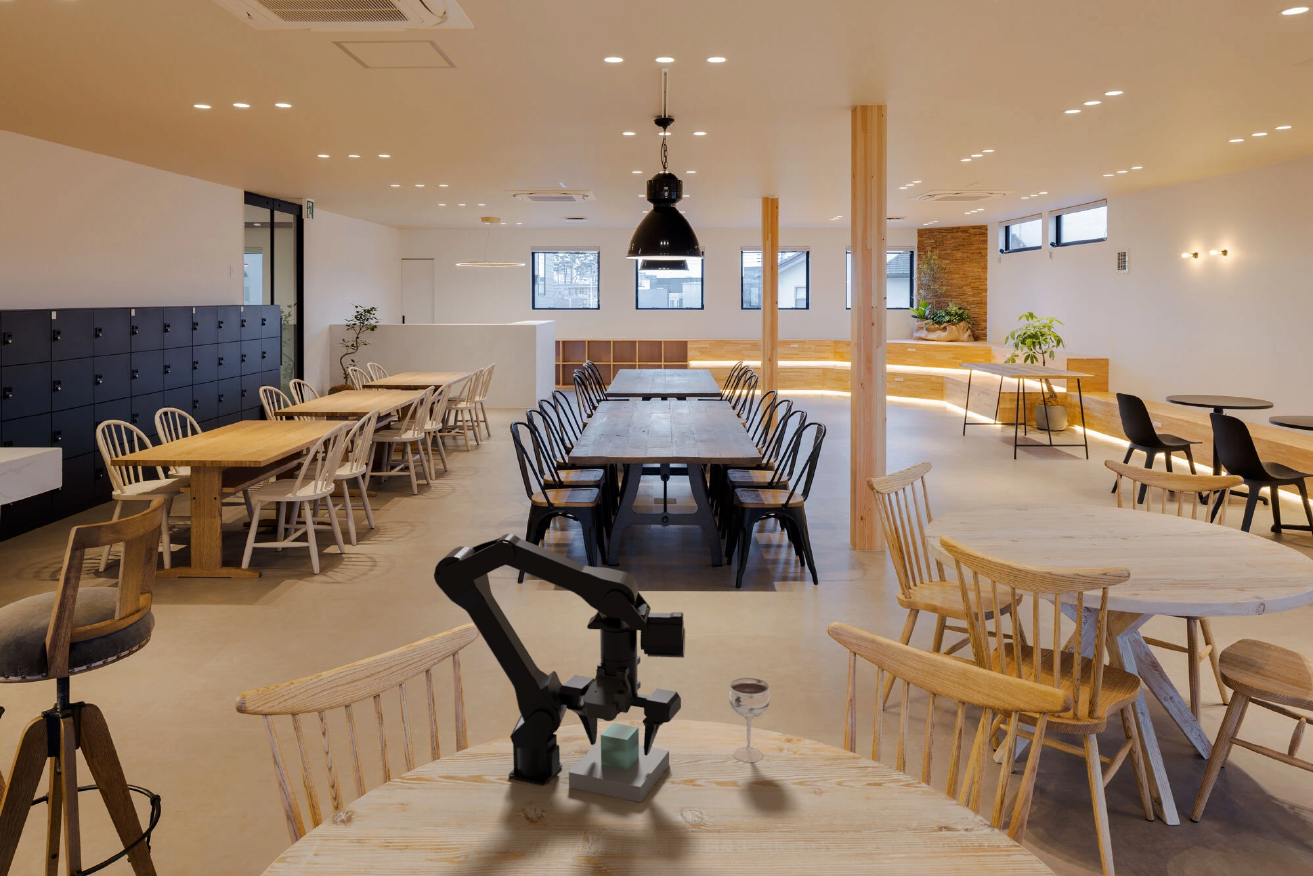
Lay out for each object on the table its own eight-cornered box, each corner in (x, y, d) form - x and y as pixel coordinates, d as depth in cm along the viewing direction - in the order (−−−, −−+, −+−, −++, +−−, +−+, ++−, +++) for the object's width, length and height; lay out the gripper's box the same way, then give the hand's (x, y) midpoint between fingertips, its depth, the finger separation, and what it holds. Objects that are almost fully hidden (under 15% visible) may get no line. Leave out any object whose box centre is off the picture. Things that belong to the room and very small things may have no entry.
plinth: (569, 787, 140) (568, 772, 140) (602, 751, 151) (601, 737, 151) (640, 802, 135) (640, 787, 135) (669, 765, 146) (669, 750, 146)
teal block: (601, 765, 142) (600, 734, 141) (613, 751, 146) (612, 722, 145) (627, 770, 140) (627, 740, 139) (638, 757, 144) (638, 727, 143)
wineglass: (722, 760, 148) (723, 690, 146) (734, 741, 154) (735, 674, 152) (762, 768, 145) (763, 697, 144) (773, 749, 152) (774, 681, 150)
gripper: (540, 665, 136) (542, 762, 139) (655, 683, 129) (655, 785, 132) (574, 639, 146) (575, 730, 149) (682, 656, 140) (682, 750, 142)
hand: (619, 749), depth 143 cm, fingers open, 9 cm apart
